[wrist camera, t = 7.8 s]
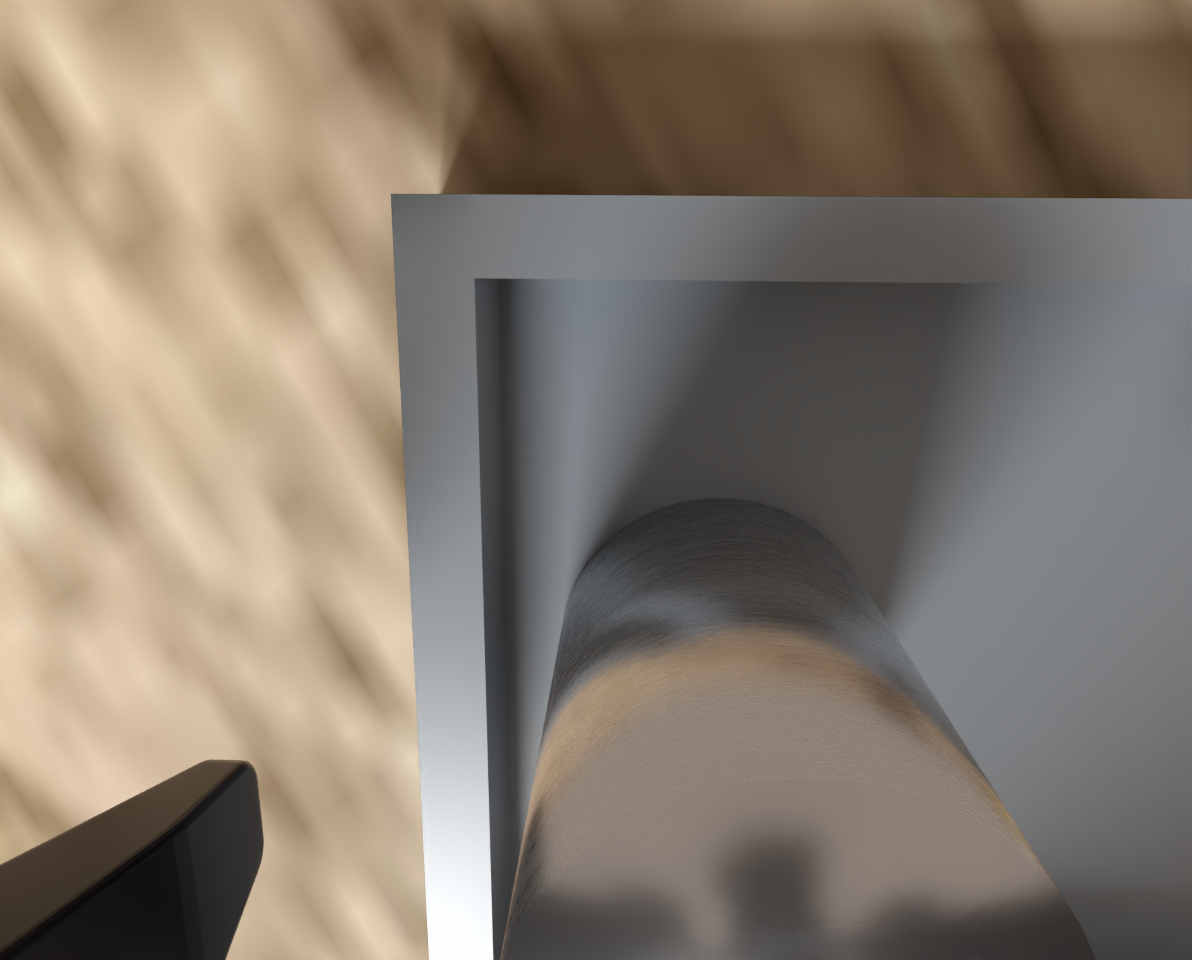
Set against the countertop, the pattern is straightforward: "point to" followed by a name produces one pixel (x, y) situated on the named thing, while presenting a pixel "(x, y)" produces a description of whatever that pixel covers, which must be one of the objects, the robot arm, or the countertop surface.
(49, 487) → the countertop surface
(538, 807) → the grey peg
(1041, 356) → the parts tray
